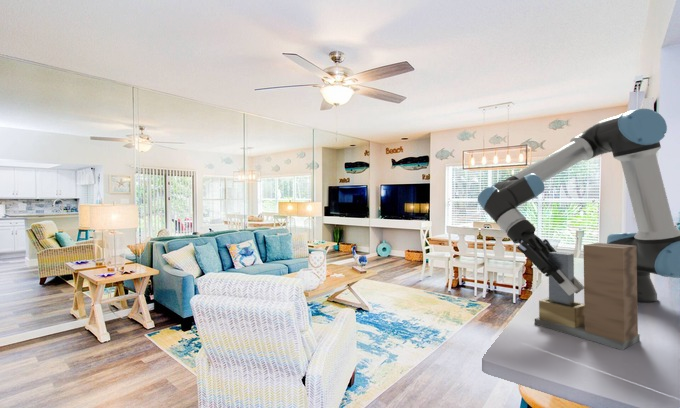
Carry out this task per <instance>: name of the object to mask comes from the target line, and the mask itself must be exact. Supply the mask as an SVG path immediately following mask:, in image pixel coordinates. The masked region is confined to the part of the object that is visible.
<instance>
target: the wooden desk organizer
mask: <svg viewBox="0 0 680 408" xmlns="http://www.w3.org/2000/svg"><path fill="white" fill-rule="evenodd" d="M582 249H583V286H584V289H583V294H584V295H583V298H584V299H583V300H584V301H583V302H584V303H581V302H577V301H574V307H569V306H564V305H560V304H556V303H551V302H549V297H547V298H544V299H539V300H538V311H539V312H538V313H539V314H538V315H539V316H538V317H536V318H534V324H535V325H538V326H540V327H544V328H546V329H551V330H554V331H557V332H561V333H565V334H567V335H570V336H574V337H578V338H581V339H583V340H588V341H589V342H590V341H591V342H593V343H598V344H601V345H604V346H607V347H611V348H615V349H617V350H621V351H624V350H625V349H627V348H629V347H631V346H632V345H634V344H636V343H639V342H640V341H641V339H640V336H641V335H640V334H639V327H638V326H639V323H638V321H639V320H638V319H639V317H638V316H639V315H638V312H639V311H638V302H637V251H636V246H632V245H619V244H607V242H606V243H603V242H594V243H587V244H583V248H582Z"/></svg>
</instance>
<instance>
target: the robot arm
mask: <svg viewBox="0 0 680 408" xmlns="http://www.w3.org/2000/svg"><path fill="white" fill-rule="evenodd" d="M667 130H668V126H667V122H666V120H665V118H664V117H663V116H662V115H661V114H660V113H659V112H657V111H655V110H653V109H650V108H637V109H633V110H628V111H626V112H623V113H620V114H617V115H615V116H612V117H609V118H606V119H603V120H600V121H598V122H597V123H595V124H593V125H592V126H590V127H589V128H587V129H586V130H584V131H582V132H581V133H579V134H578V135H576V136H574V137H572V138H571V139H570V141H569V143H568V144H565V145H564V146H562V147H560V148H559V149H557V150H555V151H553V152H551V153H550V154H548V155H546V156H545V157H543V158H541V159H540V160H537V161H536V162H534V163H532V164H530V165H529V166H527V167H525V168H524V169H522V170H520V171H518V172H516V173H514V174H512V175H511V176H509V177H508V178H506V179H504V180H503V181H498V182H496V183H494V184H493V185H492V186H488V187H485V188H484V189H483V190H482V191H481V192H480V193H479V194H478V196H477V203H478V204H479V205H480V207H481V208H482V209H483V210H484V212H485V213H487V215H489V216H490V218H491V219H492V220H493V221H494V223H496V224H497V225H498V227H499V228H500V230H502V231H503V232H504V233H505V234H506V236H507V237H508V238H509V239H510V241H512V243H513V244H518V245H517V246H516V248H517V250H519V251H520V252H521V253H522V254H523V255H524V256H525V257H526V258H527V259H528V260H529V261H530V262H531V263H532V264H533V266H535V267H536V268H537V270H539V271H540V272H541V273H542V274H544V276H545V277H548V278H549V276H550V275H551V276H552V278H553V279H554V280H555V281H556V282H557V283H558V284H559V285H560V286H561V287H562V289H563V290H564V291H565V292H566V293H567V294H568V295H569V296H570V295H572V294H573V293H574V294H576V295H577V294H578V293H580V292H581V291H584V284H582V283H581V282H580V281H579V280H578V279H577V278H576V276H574V285H573V283H572V282H571V281H570V280H569V279H568V278H567V277H566V276H565V275H564V274H563V273H562V272H561V271H560V270H557V269H556V268H555V267H554V265H553V264H552V263H551V262H550V260H549V253H550V252H557V250H556V249H555V247H553V246H552V245H551V243H550V241H548V239H546V238H544V240H542V239H541V238H540V237H539V236H537V235H536V234H535V232H536V227H535V226H534V225H533V223H532V222H530V220H528V219H527V217H526V216H525V215H524V214H523V213H522V212H520V211H519V210H518V207H519V206H521V205H523V204H525V203H527V202H529V201H530V200H533V199H534V198H537V197H538V196H540V195H541V194H543V193H544V192H545V188H546V187H545V182H546V181H548V180H550V179H552V178H554V177H555V176H557V175H559V174H560V173H563V171H566V170H567V169H569V168H571V167H574V166H575V165H577V164H578V163H580V162H581V161H589V160H591V159H593V158H595V157H597V156H600V155H604V154H607V153H611V154H612V156H613V159H615V160H617V161H620V165H621V167H622V172H623V176H624V179H625V183H626V187H627V192H628V194H629V199H630V203H631V207H632V210H633V214H634V219H635V223H636V226H637V230H638V231H637V232H625V233H623V232H621V233H610V234H608V235H607V239H606V244H619V245H632V246H636V251H637V303H638V302H641V303H642V302H643V303H651V302H657V301H658V293H657V290H656V287H655V285H654V284H653V283H654V282H653V281H652V279H651V274H653V275H659V276H661V277H664V278H673V279H679V278H680V229H678V228H676V227H675V222H674V219H673V215H672V211H671V208H670V203H669V200H668V196H667V192H666V188H665V185H664V179H663V176H662V174H661V169H660V166H659V162H658V157H657V153H658V151H659V150H660V149H661V148H662V147H661V140H662V139H664V138H665V137H666V136H665V134H667ZM556 270H557V271H556Z"/></svg>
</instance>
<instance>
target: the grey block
mask: <svg viewBox="0 0 680 408" xmlns="http://www.w3.org/2000/svg"><path fill="white" fill-rule="evenodd" d="M574 257H575V256H574V253H570V252H569V253H567V252H562V251H561V252H558V251H556V252H550V253H549V260H550V262H551V263H552V264H553V265H554V267H555V268H556V269H557V270H560V271H561V272H562V273H563V274H564V275H565V276H566V277H567V278H568V279H569V280H570V281H571V282H572V283H573V285H574V277H575V267H574V266H575V263H574V261H575V258H574ZM557 270H556V271H557ZM548 298H549V302H551V303H556V304H560V305H564V306H569V307H574V302H575V293H573V294H572V295H570V296H569V295H568V294H567V293H566V292H565V291H564V290H563V289H562V287H561V286H560V285H559V284H558V283H557V282H556V281H555V280H554V279H553V278H552V276H551V275H550V276H548Z"/></svg>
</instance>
